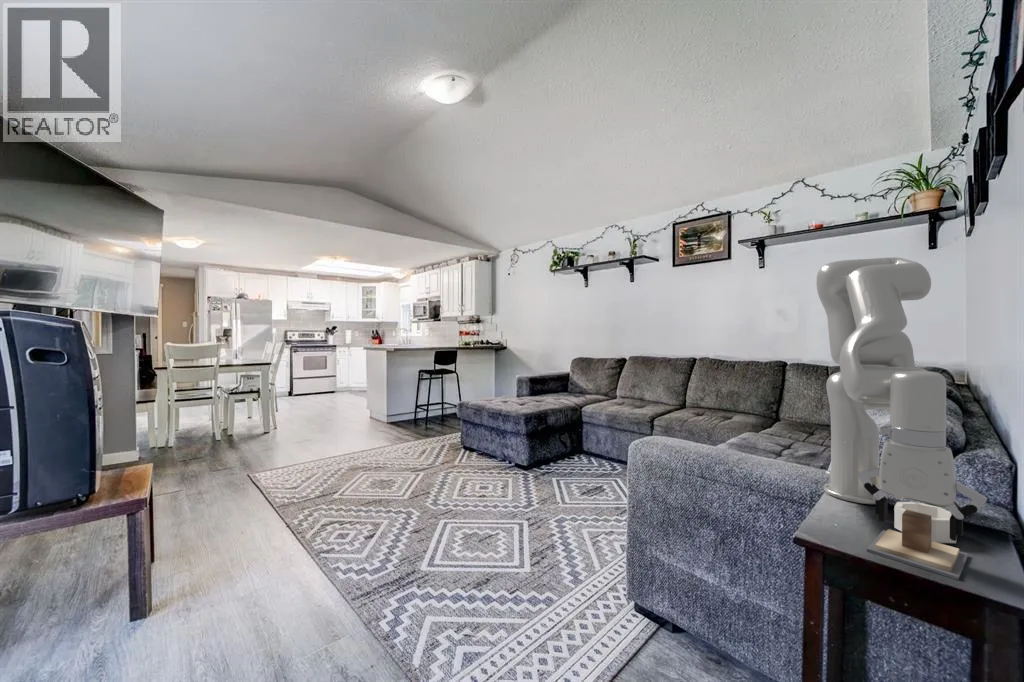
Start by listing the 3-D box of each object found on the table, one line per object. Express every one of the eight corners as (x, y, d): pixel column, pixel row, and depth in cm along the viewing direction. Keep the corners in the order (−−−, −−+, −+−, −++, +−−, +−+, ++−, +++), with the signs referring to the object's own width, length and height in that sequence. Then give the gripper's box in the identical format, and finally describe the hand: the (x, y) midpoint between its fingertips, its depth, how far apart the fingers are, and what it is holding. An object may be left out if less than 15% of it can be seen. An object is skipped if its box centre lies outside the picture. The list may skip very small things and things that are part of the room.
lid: (875, 548, 80) (875, 513, 80) (888, 533, 86) (888, 500, 86) (950, 572, 72) (950, 532, 72) (959, 552, 78) (959, 516, 78)
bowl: (884, 521, 92) (884, 501, 92) (928, 522, 91) (928, 502, 91) (921, 542, 83) (921, 519, 83) (970, 543, 82) (970, 520, 82)
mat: (866, 551, 80) (866, 548, 80) (883, 532, 87) (883, 530, 87) (958, 580, 70) (958, 577, 70) (968, 556, 78) (968, 553, 78)
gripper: (853, 432, 83) (853, 518, 83) (984, 450, 69) (983, 553, 70) (863, 426, 88) (863, 508, 88) (989, 443, 74) (988, 539, 74)
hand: (916, 528), depth 79 cm, fingers open, 9 cm apart
